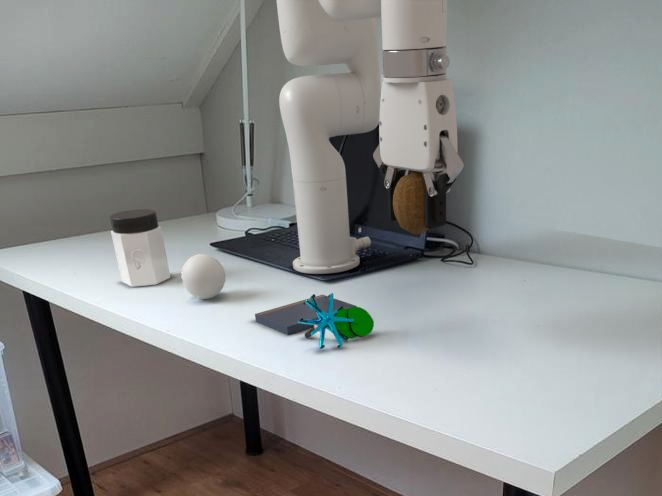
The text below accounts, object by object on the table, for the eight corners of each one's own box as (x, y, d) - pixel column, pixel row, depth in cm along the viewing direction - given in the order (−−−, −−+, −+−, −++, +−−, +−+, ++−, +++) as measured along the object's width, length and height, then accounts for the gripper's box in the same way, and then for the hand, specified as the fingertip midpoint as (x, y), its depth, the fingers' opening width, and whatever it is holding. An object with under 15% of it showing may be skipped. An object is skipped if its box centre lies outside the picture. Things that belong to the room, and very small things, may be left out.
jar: (119, 288, 136) (103, 220, 130) (125, 276, 143) (110, 211, 137) (168, 284, 137) (155, 216, 131) (172, 272, 144) (160, 207, 138)
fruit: (396, 229, 102) (394, 166, 98) (441, 228, 101) (442, 164, 97) (391, 240, 97) (389, 175, 93) (439, 239, 96) (439, 173, 92)
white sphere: (237, 294, 129) (231, 251, 125) (207, 307, 124) (199, 262, 120) (196, 287, 134) (189, 245, 130) (165, 299, 129) (157, 256, 125)
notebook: (323, 301, 122) (322, 294, 122) (357, 313, 116) (356, 305, 116) (255, 321, 116) (254, 313, 115) (287, 334, 110) (286, 326, 109)
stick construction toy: (312, 342, 99) (301, 287, 100) (286, 360, 105) (277, 308, 106) (383, 345, 106) (373, 293, 107) (356, 362, 112) (346, 313, 113)
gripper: (490, 64, 85) (485, 227, 94) (391, 63, 96) (395, 208, 106) (442, 70, 81) (442, 239, 90) (345, 68, 93) (353, 218, 102)
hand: (416, 221), depth 98 cm, fingers closed on fruit, 6 cm apart
